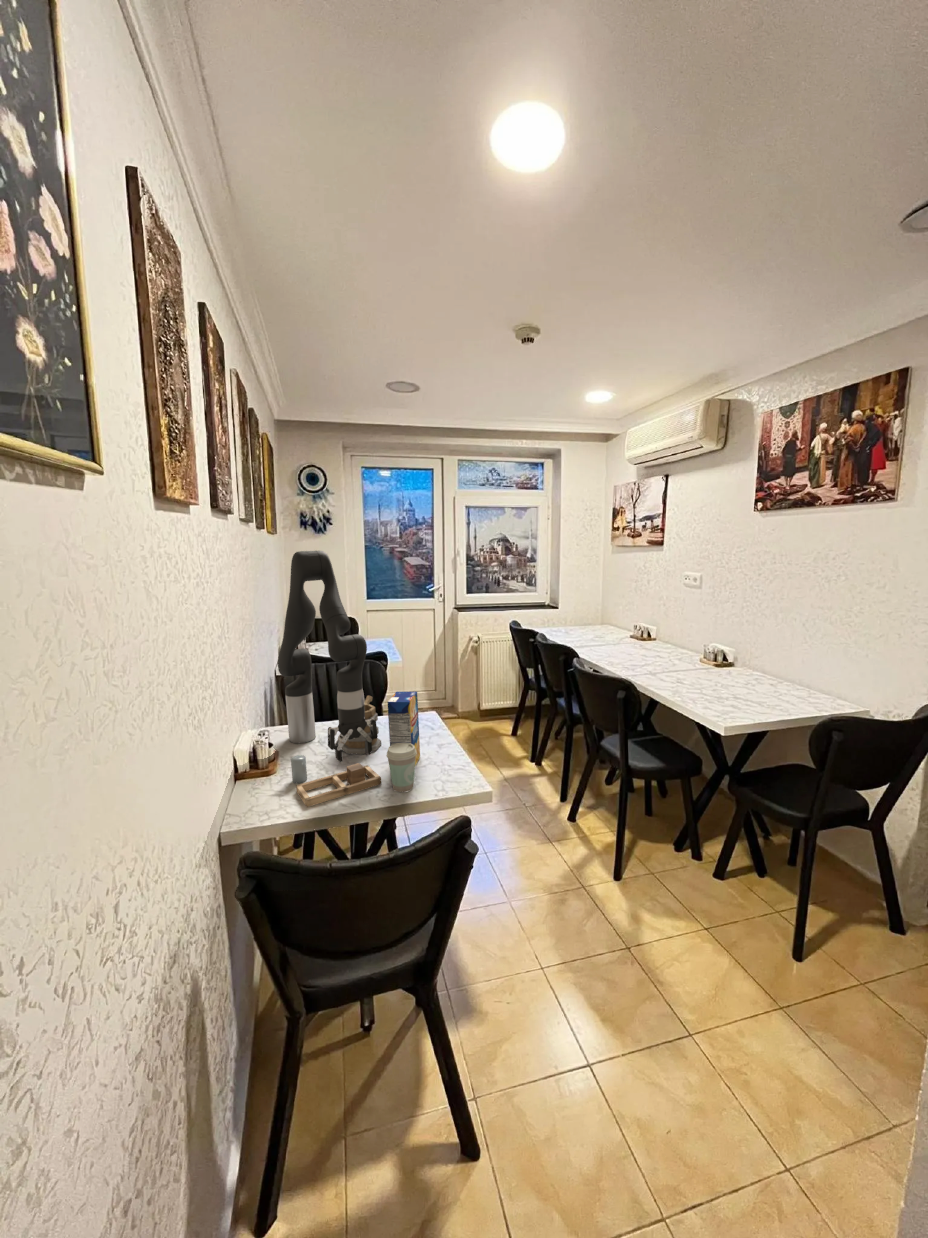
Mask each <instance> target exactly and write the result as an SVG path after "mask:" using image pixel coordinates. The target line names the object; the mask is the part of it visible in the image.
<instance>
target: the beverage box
mask: <svg viewBox="0 0 928 1238" xmlns="http://www.w3.org/2000/svg"><path fill="white" fill-rule="evenodd" d="M418 699H419V698H418V691H395V692H394V694H393V695H392V696H391V697H390V699H388V701H387V716H388V732H389V733H388V735H389V737H388V738H389V747H390V746H391V745H393V744H397V743H410V744H413V745H414V747H415V749H416V752H417V754H416V758H415V767H416V766H417V763H418V762H419V760H420V758H421V747H420V746H421V745H420V726H419V725H420V723H419V706H418V705H419V703H418V702H419V701H418Z"/></svg>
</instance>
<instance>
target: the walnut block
mask: <svg viewBox="0 0 928 1238" xmlns="http://www.w3.org/2000/svg"><path fill="white" fill-rule="evenodd" d="M363 766H364V765H362V764H361V763H360V762H358V763H353V764H349V765H347V766H346V771H347V779H346V780H347V784H348V785H351V784H355V783H358V782H361V781H365V780H366V774H365V768H364V767H363Z"/></svg>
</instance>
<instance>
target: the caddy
mask: <svg viewBox="0 0 928 1238" xmlns="http://www.w3.org/2000/svg"><path fill="white" fill-rule="evenodd" d="M362 766H363V767H364V768H365V776H367V777H368V779H365V781H361V782H358V783H355V784H351V785H349V784H348V785H346V784H345V783H344V782H343V781H345V780H347V770H344V771H341V772H339V773H335V774H331V775H327V776H324V777H320V778H317V779H313V780H310V781H305V782H303V783H299V784H296V785H295V788H296V793H297V795H298V796H299V798H300V799H301V800H302V802H303V804H304V805H305V806H306V808H308V807H309V808H310V807H312V806H316V805H318V804H321V803H325V802H328V801H331V800H334V799H338V798H341V797H344V796H347V795H350V794H354V793H357V792H360V791H364V790H366V789H370V788H373V787H376V786H379V785H382V776H381V775H379V774H378V773H377V772H376V771H375V770H374V769H372V768H371V767H370V765H362ZM332 784H333V785H334V787H336V789H331V790H329V791H326V792H322V793H319V794H318V793H317V794H315V795H311V796H310V795H309V794H308V791H310V790H315V789H319V788H321V787H325V786H328V785H332Z"/></svg>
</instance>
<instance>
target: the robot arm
mask: <svg viewBox="0 0 928 1238" xmlns="http://www.w3.org/2000/svg"><path fill="white" fill-rule="evenodd" d="M289 578H290V579H289V581H290V582H289V584H290V585H289V594H288V601H287V607H286V612H285V619H284V628H283V636H282V637H283V638H282V642H281V645H280V648H279V649H280V650H279V653H278V657H277V670H278V672H279V674H280V675H281V676H282V677H284V678H285V677H286V678H288V677H289V678H290V677H295V676H298V677H297V678H296V679H295V680H294V681H292V682H291V683H289V684H288V685H285V688H284V694H285V705H286V717H287V729H288V739H289V742H290V743H293V744H304V743H308V742H311V741H313V740H314V739H316V737H317V735H316V723H315V708H314V699H313V697H314V696H313V675H312V674H313V673H312V672H313V669H312V667H313V666H312V657H311V653H310V651H309V650H308V649H307V648H304V647H303V648H298V646H300V644H301V643H302V642H303V641H304V640H305V639H306V638H307V637H308V636H309V635H310V633H312V630H313V629H314V626H315V619H316V615H317V611H316V607H315V606H314V603H313V602H312V600H311V599H310V598H309V596H308V594H307V593H306V591H305V588H304V587H305V583H306V582H311V581H322V583H323V586H324V587H323V588H324V589H323V593H322V595H321V598H320V601H319V602H320V603H319V609H318V610H319V615H320V617H321V620H322V623H323V625H324V628H325V631H326V636H327V645H328V646H327V649H328V656H329V657H330V659H332V661H334V662H336V663H342V662H348V661H349V664H347V666H345V667H342V668H340V669H339V670H338V671H337V672H336V687H337V692H336V693H337V695H336V703H337V715H338V725H337V726H336V727H331V726H328V728H327V746H328V748H329V749H330V750H331V751H333V750H334V753H335V759H336V761H338V762H339V763H342V762H344V761H343V750H342V749H341V748H342V746H343V745H344V744H345V743H346V741H347V739H349V740H350V739H353V738H359V736H361V735H362V736H363V737H364V738H365V739H366V741H365V752H366V754H367V755H370V754H371V753H373V752H372V740H373V739H377V738H379V737H378V735H379V734H377V727H378V726H377V721H376V720H375V719H373V718H369V720H365V705H364V702H365V700H366V698H365V695H364V694H365V693H364V690H363V688H364V687H363V671H364V670H363V669H364V665H365V661H366V657H367V650H368V646H367V642H366V639H365V637H363V636H362V635H361V634H358V633H356V634H349V635H344V634H346V633H347V632H348V631H349V630H350V628H351V621H350V619H349V616H348V614H347V612H346V610H345V607H344V605H343V602H342V599H341V596H340V593H339V588H338V583H337V581H336V576H335V572H334V569H333V565H332V562H331V559H330V556H329V554H328V553H327V552H326V551H324V550H301V551H296V552H295V553H294V554H293V556H292V558H291V563H290V577H289ZM367 724H368V726H369V727H370V733H371V734H370V735H369V736H368V734H367V733H366V732H365V731H364V729H365V727H366V726H367ZM338 732H339V735H338V736H337V740H336V739H335V738H336V735H337V733H338Z"/></svg>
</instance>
